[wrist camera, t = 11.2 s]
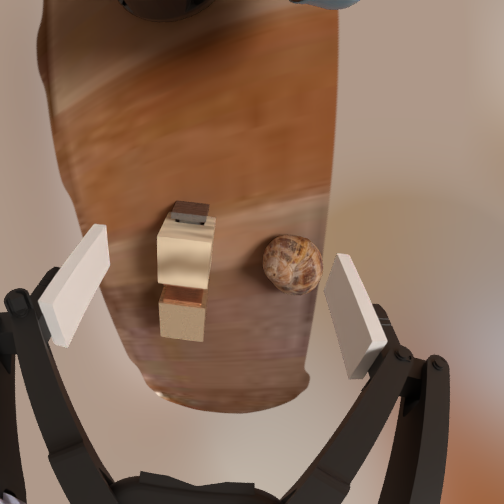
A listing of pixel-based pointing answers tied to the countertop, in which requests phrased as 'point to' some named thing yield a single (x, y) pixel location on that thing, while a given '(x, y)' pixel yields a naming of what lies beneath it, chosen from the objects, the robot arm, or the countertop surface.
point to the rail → (184, 289)
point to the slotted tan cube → (185, 253)
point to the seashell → (293, 264)
